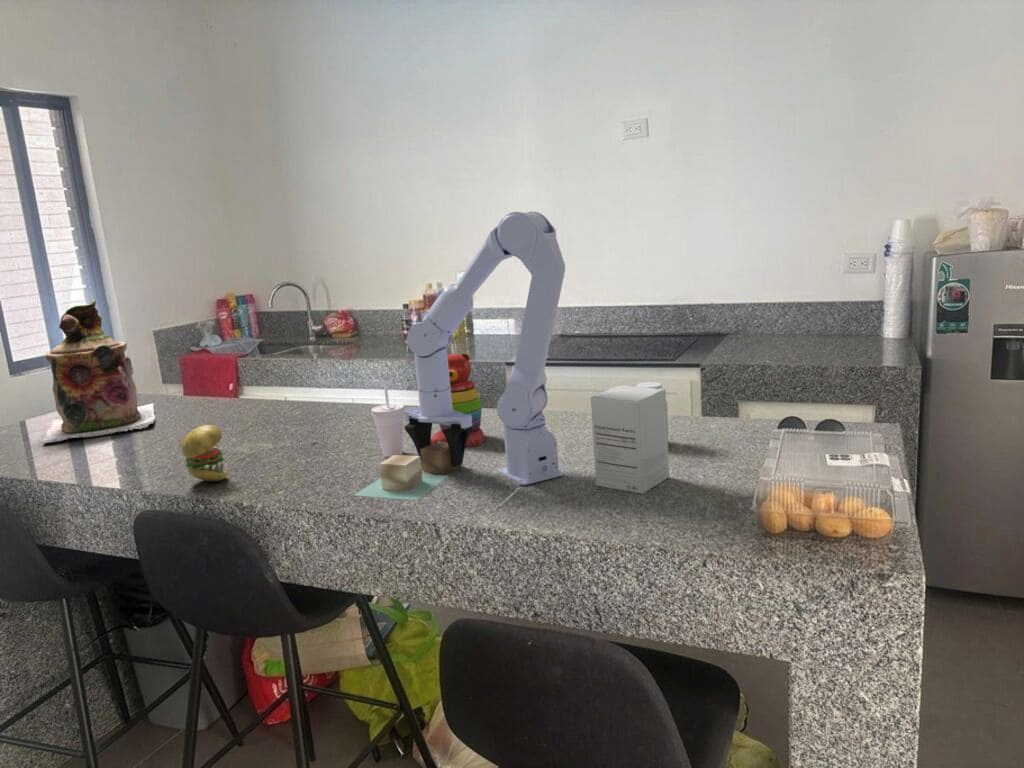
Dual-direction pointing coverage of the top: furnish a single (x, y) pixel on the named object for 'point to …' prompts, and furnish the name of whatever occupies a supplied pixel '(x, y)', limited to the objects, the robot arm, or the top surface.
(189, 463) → the hamburger
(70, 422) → the cookie jar
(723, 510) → the top surface
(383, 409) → the smoothie
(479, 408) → the stacking bear
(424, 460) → the walnut block
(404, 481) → the maple block
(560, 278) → the robot arm
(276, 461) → the top surface
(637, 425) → the supplement box
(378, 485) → the mat
